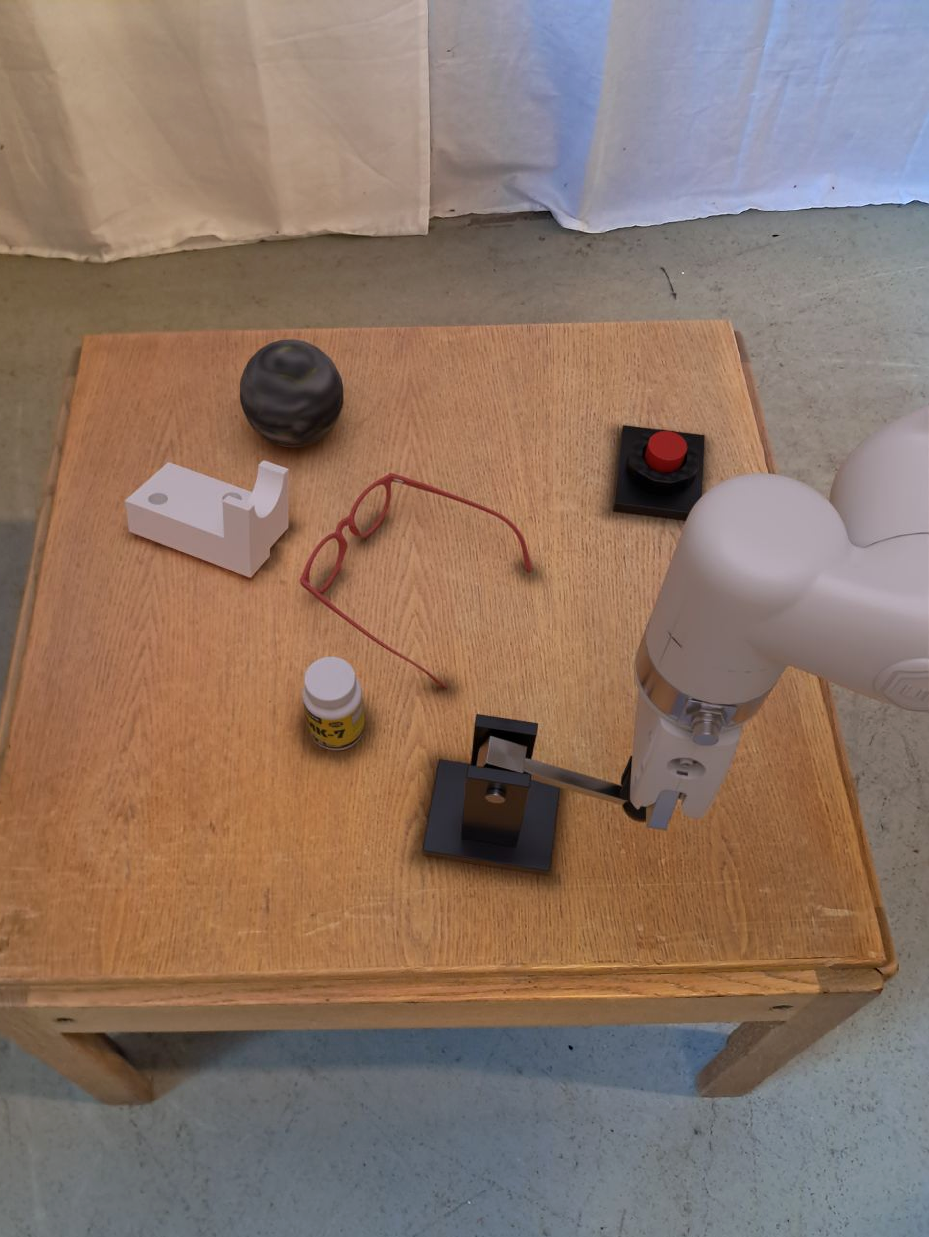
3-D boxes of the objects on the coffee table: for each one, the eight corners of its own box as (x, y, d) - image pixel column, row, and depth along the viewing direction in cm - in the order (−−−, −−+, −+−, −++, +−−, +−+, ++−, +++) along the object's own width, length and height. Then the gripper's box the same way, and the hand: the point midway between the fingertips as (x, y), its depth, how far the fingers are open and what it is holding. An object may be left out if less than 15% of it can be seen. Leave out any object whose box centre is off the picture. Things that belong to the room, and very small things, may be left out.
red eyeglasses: (393, 490, 98) (392, 454, 94) (538, 561, 94) (544, 528, 89) (287, 616, 91) (280, 584, 87) (438, 701, 87) (439, 671, 82)
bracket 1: (288, 535, 97) (288, 469, 91) (250, 577, 92) (248, 510, 87) (171, 492, 100) (164, 425, 94) (129, 531, 95) (119, 463, 89)
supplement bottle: (299, 740, 85) (287, 692, 78) (323, 695, 87) (313, 643, 80) (352, 760, 84) (345, 712, 77) (374, 713, 86) (369, 662, 79)
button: (646, 441, 97) (649, 428, 96) (683, 446, 97) (688, 433, 95) (643, 470, 96) (647, 457, 94) (682, 474, 95) (686, 462, 94)
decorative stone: (356, 458, 100) (349, 382, 91) (256, 477, 99) (239, 402, 90) (336, 387, 105) (328, 308, 96) (240, 404, 104) (224, 326, 95)
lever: (652, 795, 76) (672, 781, 73) (650, 832, 74) (670, 819, 72) (478, 744, 74) (492, 728, 71) (472, 781, 72) (486, 766, 70)
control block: (620, 433, 101) (626, 411, 99) (702, 443, 101) (709, 421, 98) (612, 511, 97) (618, 490, 94) (697, 522, 96) (705, 501, 93)
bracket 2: (559, 783, 83) (580, 710, 72) (548, 876, 79) (568, 814, 68) (438, 764, 84) (440, 689, 73) (422, 855, 80) (421, 790, 69)
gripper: (774, 795, 52) (690, 902, 68) (776, 563, 60) (699, 709, 76) (628, 772, 53) (579, 883, 69) (647, 545, 60) (598, 694, 76)
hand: (642, 792), depth 72 cm, fingers closed
